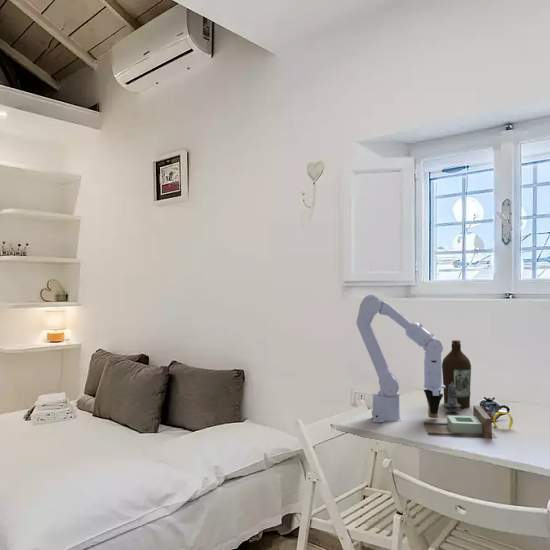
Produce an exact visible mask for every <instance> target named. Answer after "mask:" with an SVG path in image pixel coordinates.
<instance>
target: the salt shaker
mask: <svg viewBox="0 0 550 550" xmlns="http://www.w3.org/2000/svg"><path fill="white" fill-rule="evenodd" d="M447 395H448V402H447V403H445V404H444V403H443V406H444V408H445V410H446V412H445V414H447V415H449V414H451V415H459V414H460V413H459V411H460V410H461V408H460V406H461V405H460V404H458V403H457V395H458V394H456V385H455V384H453V382H451V384H449V385H448V393H447Z"/></svg>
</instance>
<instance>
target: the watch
mask: <svg viewBox="0 0 550 550" xmlns="http://www.w3.org/2000/svg"><path fill="white" fill-rule="evenodd" d="M499 415H507V416H508V417H509V424H508V425H507V426H506V427H507V428H509V429H511V428H512V426H513V423H514V420H513V416H511V414H510V413H508V411H507V410H505V409H504V410H503V409H499V410H498V411H497V412H496V413H494V415H493V417H492V423H493V424H492V425H493V426H494V427H495V428H499V427H498V426H497V424H496V419H497V417H498V416H499Z"/></svg>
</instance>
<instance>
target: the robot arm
mask: <svg viewBox="0 0 550 550" xmlns="http://www.w3.org/2000/svg"><path fill="white" fill-rule="evenodd" d="M378 313H379V315H383V316H387V317H389V318H390V319H391V320H392V321H393V322H395V323H396V324H398V325H399V326H400V327H401V328H403V329H404V330H405V335H406V337H408V339H410V340H412V341H413V342H414V343H415V344H417V345H418V346H419V347H421V348H423V351H424V359H423V362H424V363H423V368H424V369H423V370H424V372H423V373H424V374H423V375H424V376H423V379H424V383H423V388H424V389H423V392H424V394H425V397H426V401H427V403H428V401H429V407H430V412H431V414H437V413H438V414H439V408H440V407H439V406H440V403H441V401H442V399H443V398H444V393H441V390H442V389H443V388H445V385H443V373H442V362H443V360H442V352H443V351H444V347H443V343H442V342H441V341H440V340H439V339H438V338H437V337H436V336H435V335H434V333H432V332H431V333H430V332H429V331H428V330H427V329H425V327H424V325H423V324H422V323H418V322H411V321H409V319H407V318H406V317H405V316H404V315H402V314H401V313H400V312H399V311H398V310H397V309H396V308H394V307H393V305H391V304H390V303H389V302H386V301H384V300H382V299H380V298H379V297H378V296H376V295H375V294H368V295H365V297H364V298H363V300H362V301H361V303H360V304H359V308H358V314H357V318H356V326H357V329H358V331H359V333H360V336H361V339H362V341H363V343H364V345H365V348H366V350H367V353H368V355H369V357H370V359H371V362H372V365H373V367H374V369H375V371H376V376H377V377H378V384H379V391H378V392H377V394H376V393H375V394H372V410H371V417H372V421H373V423H385V422H391V423H392V422H394V423H396V422H397V423H398V422H400V423H401V417H400V393H399V388H400V386H399V383H398V380H397V377H396V376H395V375H394V374H392V372H391V370H390V368H389V365H388V364H387V361H386V358H385V355H384V353H383V351H382V349H381V345H380V344H379V342H378V339H377V337H376V333H375V332H374V330H373V328H372V325H371V324H372V321H373V319H374V317H375V316H376V314H378Z"/></svg>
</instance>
